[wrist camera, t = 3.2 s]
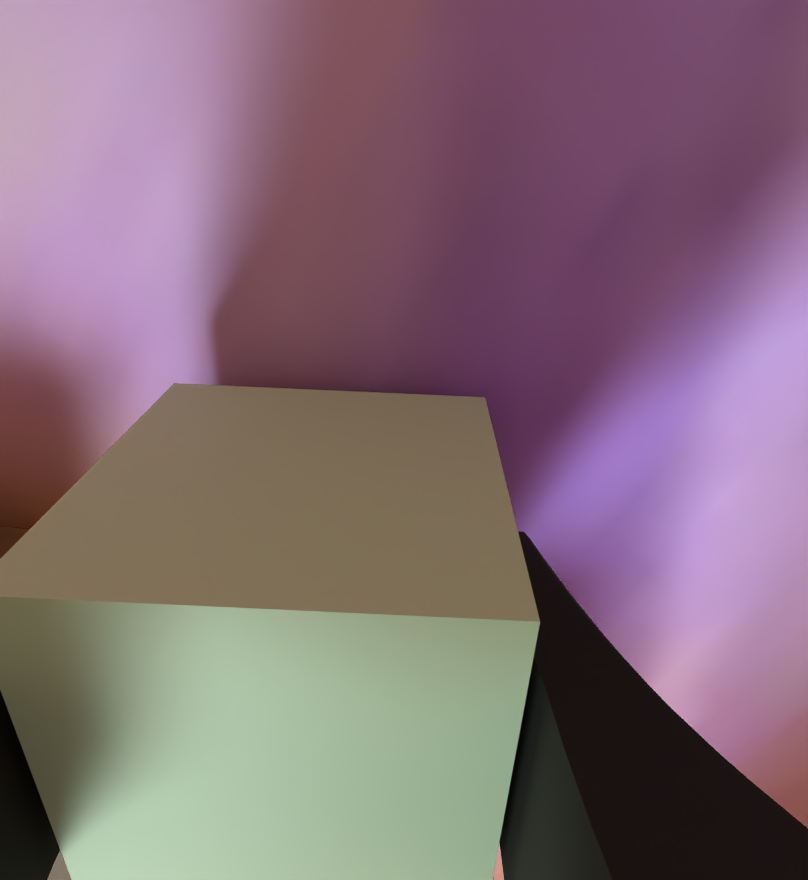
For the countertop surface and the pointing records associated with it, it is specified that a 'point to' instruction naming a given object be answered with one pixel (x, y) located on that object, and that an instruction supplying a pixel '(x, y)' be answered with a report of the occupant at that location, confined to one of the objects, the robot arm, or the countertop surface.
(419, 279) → the countertop surface
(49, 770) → the sage cube
